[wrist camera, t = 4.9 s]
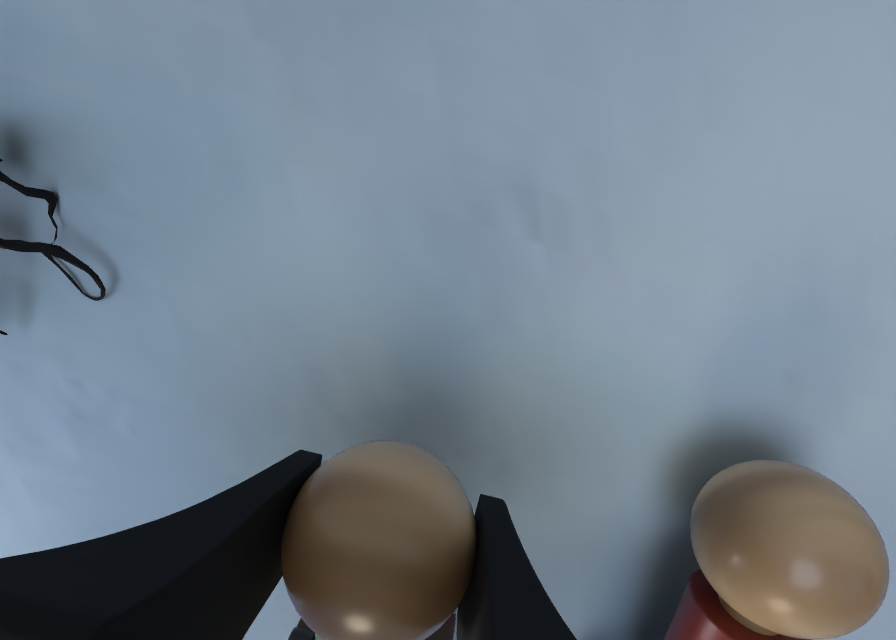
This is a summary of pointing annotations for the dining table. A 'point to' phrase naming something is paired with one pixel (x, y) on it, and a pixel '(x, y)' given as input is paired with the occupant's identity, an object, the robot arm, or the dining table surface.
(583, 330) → the dining table surface
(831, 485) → the red doll
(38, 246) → the creature
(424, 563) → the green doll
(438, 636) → the brown notched block
